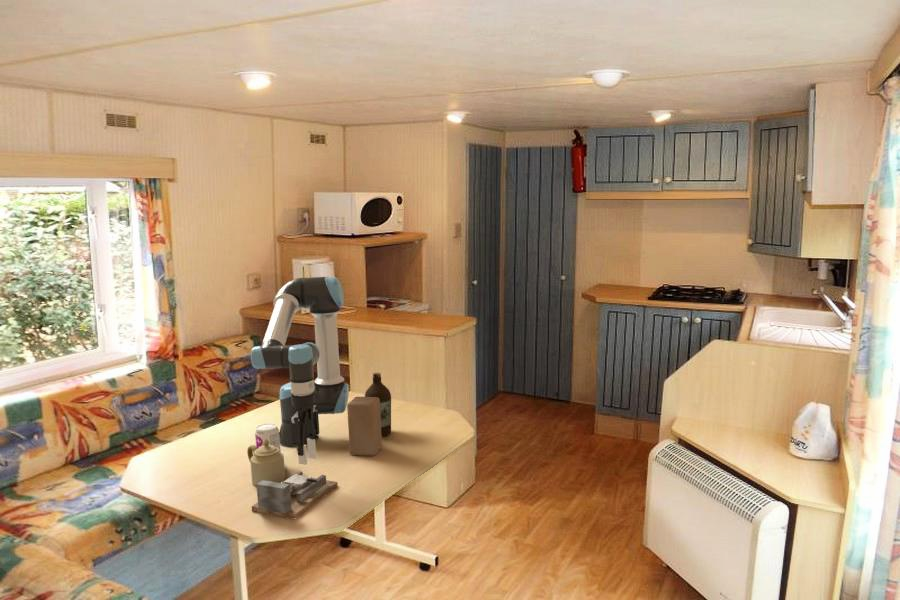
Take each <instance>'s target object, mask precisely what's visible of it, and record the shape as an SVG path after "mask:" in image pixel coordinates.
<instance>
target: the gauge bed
mask: <svg viewBox="0 0 900 600" xmlns="http://www.w3.org/2000/svg"><path fill="white" fill-rule="evenodd" d="M294 474H296V475H302V476H304V474H303V471H301V470H298V471H296V472H295V473H294ZM294 474H292V475H291V476H293V475H294ZM291 476H288V478H290V477H291ZM288 478H287V479H288ZM287 479H286V478H285V480H287ZM312 479H315V480H317V482H311V483H310V484H308V485H307V486H306V487H304V488H303V489H301V490H300V491H299V492H297V493H296V495H290V485H289V484H284V481H285V480H284V481H283V482H282V483H277V482H271V481H265V480H262V481H260V482H259V483H257V484H256V485H257V486H256V493H257V494H256V495H257V502H255V504H253V505H251V512H255V511H257V512H256V513H260V512H261V513H262V514H266V515H271V514H272V516H276V515H278V516H277V517H282V516H283V517H282V518H287V517H288V518H287V519H292V518H293V520H296V519H297V518H299V517H300V516H301V515H302V514H304V513H305V512H306V511H307V510H309V509H310V508H312V507H313V506H314V505H315V504H317V503H318V502H319V501H320V500H322V499H323V498H325V497H326V496H327V495H328V494H330V493H331V492H332V491H334V488H335V489H336V488H337V487H339V486H338V481H334V480H327V476H326V475H325V474H321V475H319V476H318V477H317V478H314V477H312ZM325 495H326V496H325ZM322 497H323V498H322ZM321 498H322V499H321ZM318 500H319V501H318ZM317 501H318V502H317ZM313 504H314V505H313ZM312 505H313V506H312ZM308 508H309V509H308ZM261 513H260V514H261ZM267 513H268V514H267ZM299 515H300V516H299ZM295 518H296V519H295Z"/></svg>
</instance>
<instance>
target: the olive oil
mask: <svg viewBox="0 0 900 600" xmlns="http://www.w3.org/2000/svg"><path fill="white" fill-rule="evenodd" d="M381 375H382V374H381V372H373V373H372V383H371V385H369V387H368V388H367V389H366V391H365V394H364V397H378V398H379V399H380V415H381V436H382V438H385V437H387V436H388V437H389V436H390V435H391V434H392V394H391V392H390V389H389V388H388V387H387V386H386V385H384V383H383V382H382V376H381Z"/></svg>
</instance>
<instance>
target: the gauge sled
mask: <svg viewBox="0 0 900 600" xmlns="http://www.w3.org/2000/svg"><path fill="white" fill-rule="evenodd" d="M292 475H293V476H292ZM292 475H291V476H289V477H290V478H289V477H288V478H287V480H286V479H285V480H284V484H289V485H290V495H296V493H297V492H299V491H300V490H301V489H303V488H304V487H306V486H307V485H308V484H310V483H311V482H317V480H315V479H312V478H313V477H312V476H307V475H303V476H302V475H296V474H295V473H294V474H292Z"/></svg>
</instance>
